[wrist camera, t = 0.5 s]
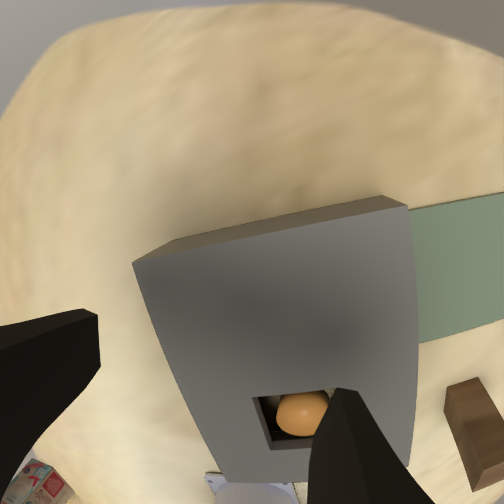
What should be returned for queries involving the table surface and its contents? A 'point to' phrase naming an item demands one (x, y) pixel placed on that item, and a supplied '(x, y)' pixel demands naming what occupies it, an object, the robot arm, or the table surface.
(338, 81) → the table surface
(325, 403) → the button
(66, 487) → the juice carton
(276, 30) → the table surface
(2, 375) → the robot arm
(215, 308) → the panel
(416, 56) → the table surface
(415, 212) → the mat
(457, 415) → the wooden peg
